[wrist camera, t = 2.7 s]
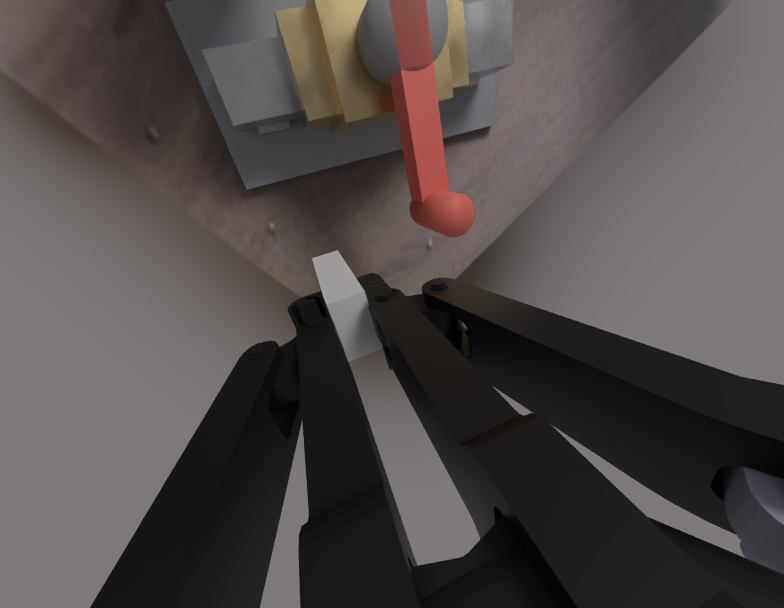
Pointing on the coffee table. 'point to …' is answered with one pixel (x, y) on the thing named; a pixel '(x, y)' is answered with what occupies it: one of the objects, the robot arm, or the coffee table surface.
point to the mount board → (296, 146)
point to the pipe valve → (345, 66)
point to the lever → (415, 101)
